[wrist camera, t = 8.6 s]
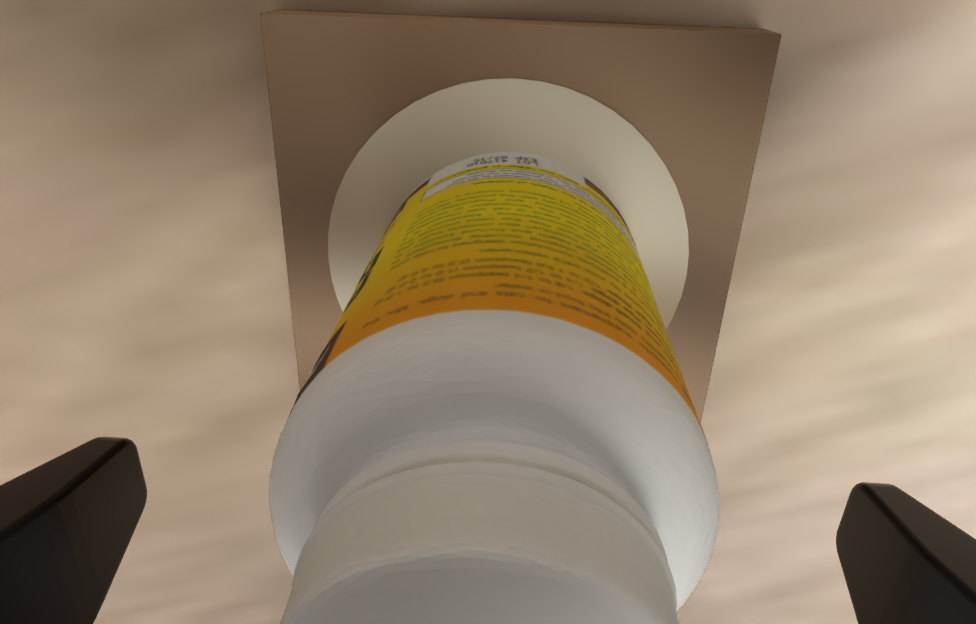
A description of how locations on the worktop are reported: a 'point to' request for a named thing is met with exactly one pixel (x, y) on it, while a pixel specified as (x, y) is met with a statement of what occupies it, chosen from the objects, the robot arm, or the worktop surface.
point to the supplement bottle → (496, 421)
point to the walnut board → (516, 142)
